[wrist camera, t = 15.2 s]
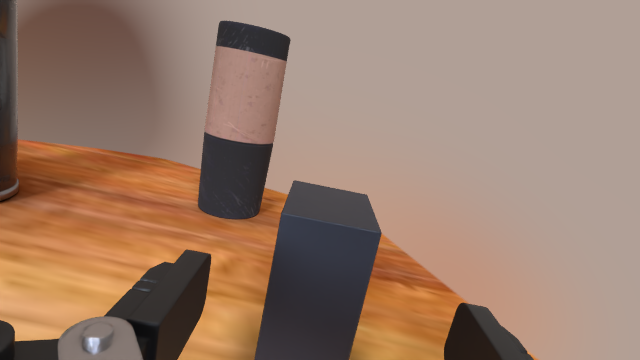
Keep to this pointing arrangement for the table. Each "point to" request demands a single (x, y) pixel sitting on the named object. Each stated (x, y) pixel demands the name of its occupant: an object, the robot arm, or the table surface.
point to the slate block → (318, 274)
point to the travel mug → (241, 118)
